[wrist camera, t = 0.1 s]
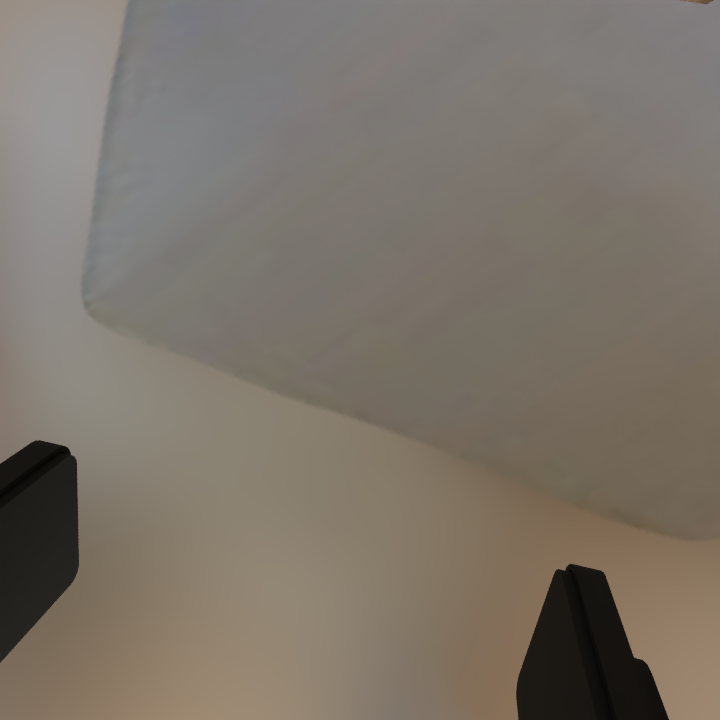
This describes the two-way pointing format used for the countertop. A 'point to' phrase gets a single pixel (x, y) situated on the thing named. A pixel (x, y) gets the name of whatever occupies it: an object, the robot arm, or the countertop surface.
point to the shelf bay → (699, 1)
